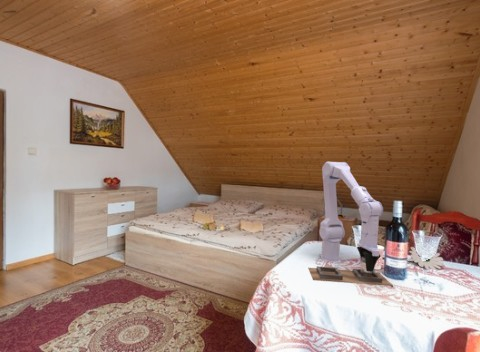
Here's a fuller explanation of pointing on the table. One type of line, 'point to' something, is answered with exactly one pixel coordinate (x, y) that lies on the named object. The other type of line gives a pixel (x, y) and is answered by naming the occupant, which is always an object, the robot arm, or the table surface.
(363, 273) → the metal cylinder
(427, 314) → the table surface
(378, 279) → the dock board
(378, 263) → the beverage cup
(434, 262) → the flower
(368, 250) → the robot arm
